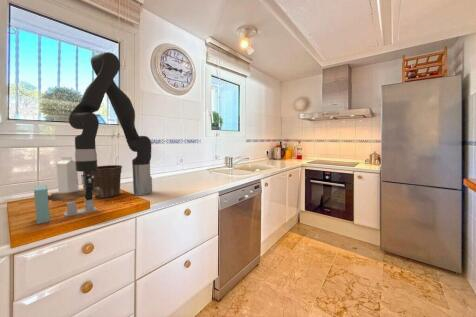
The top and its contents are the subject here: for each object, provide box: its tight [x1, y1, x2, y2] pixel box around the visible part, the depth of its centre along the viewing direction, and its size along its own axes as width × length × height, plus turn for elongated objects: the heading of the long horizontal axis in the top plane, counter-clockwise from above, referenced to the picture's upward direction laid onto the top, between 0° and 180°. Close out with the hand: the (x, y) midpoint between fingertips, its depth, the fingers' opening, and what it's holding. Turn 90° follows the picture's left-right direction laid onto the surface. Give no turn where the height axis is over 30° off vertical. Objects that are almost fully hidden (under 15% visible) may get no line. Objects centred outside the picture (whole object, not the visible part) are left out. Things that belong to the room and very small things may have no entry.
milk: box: [55, 156, 80, 192], centre depth 110 cm, size 6×6×22 cm
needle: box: [48, 187, 100, 202], centre depth 86 cm, size 19×3×3 cm, turn 133°
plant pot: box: [91, 164, 123, 199], centre depth 115 cm, size 16×16×16 cm
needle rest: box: [63, 198, 98, 218], centre depth 88 cm, size 11×4×5 cm, turn 133°
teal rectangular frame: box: [33, 184, 51, 225], centre depth 80 cm, size 4×9×13 cm, turn 42°
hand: (88, 198), depth 90 cm, fingers closed on needle, 2 cm apart
